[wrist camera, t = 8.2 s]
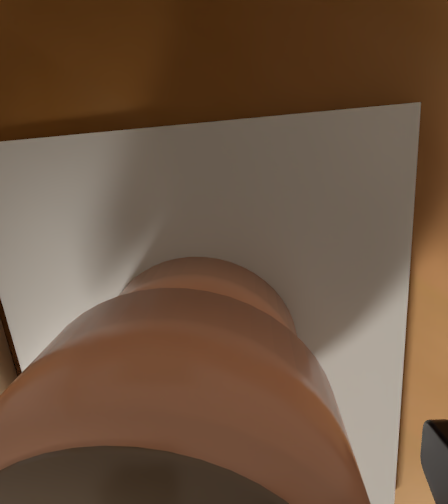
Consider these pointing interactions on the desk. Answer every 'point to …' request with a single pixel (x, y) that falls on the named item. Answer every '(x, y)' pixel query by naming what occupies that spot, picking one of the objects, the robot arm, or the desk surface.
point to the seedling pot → (178, 402)
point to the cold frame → (5, 363)
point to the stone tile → (232, 237)
